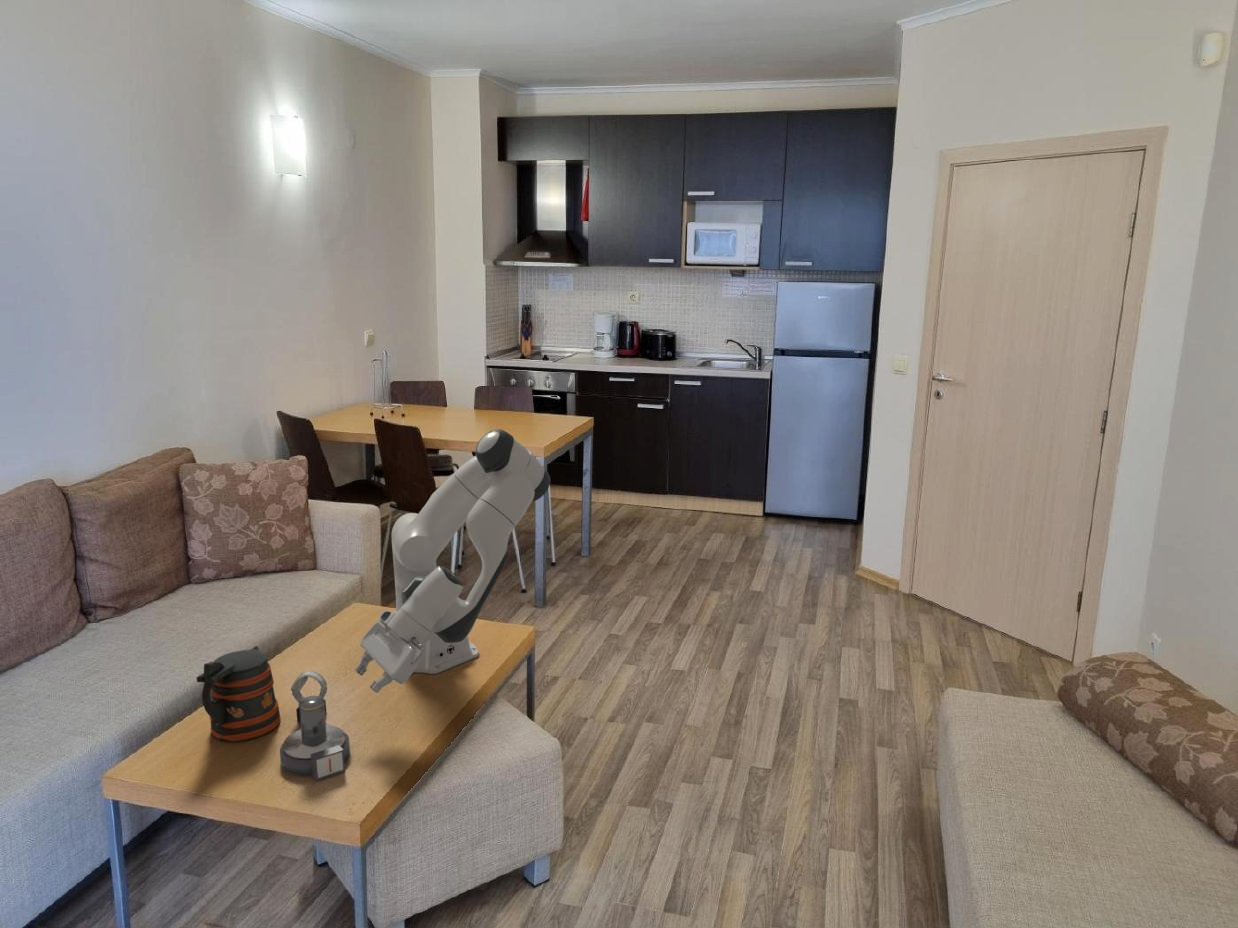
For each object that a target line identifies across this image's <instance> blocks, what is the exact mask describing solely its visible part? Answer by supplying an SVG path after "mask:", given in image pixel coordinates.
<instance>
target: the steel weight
mask: <svg viewBox="0 0 1238 928" xmlns="http://www.w3.org/2000/svg"><path fill="white" fill-rule="evenodd" d="M324 699H325V697H324V698H323V697H321V696H319V695H309V696H306V697H304V698H303V699H302V700H300V702H299V703H298V707H299V711H300V722H299V723H300V729H301V735H302V743H303V744H304V745H306V746H316V745H320V744H322V743H324V742H325V741H326V739H327V734H326V725H327V723H326V722H327V721H326V712H325V708H324Z"/></svg>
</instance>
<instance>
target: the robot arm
mask: <svg viewBox="0 0 1238 928" xmlns="http://www.w3.org/2000/svg"><path fill="white" fill-rule="evenodd" d="M550 485H551V476H550V475H549V472H548V470H547V469H546V467H544V466H543V465H542V464H541V463H540V461H539V460H538V459H537V457H536V456H534V454H533V453H532V452H531V451H530V450H529V449H527V448H526V447H525V446H523V445H522V444H521V442H519V441H518V440H516V439H515V438H514V436H513V435H512V434H510V433H509V432H507V431H506V430H504V429H500V428H495V429H493V430H490V431H488V432H487V433H485V434H484V435H483V436H482V437H481V438H480V439H479V440H478V442H477V444H476V447H475V455H474V456H473V457H472V458H470V459H469V460H467V461H466V462H465V463H463V464H462V465H461V466H460V467H459V468H458V469H456V470H455V472H453V473H452V475H450V476H449V477H448V478H447V479H446V480H445V481H444V482H443V483H442V484H440V486H439V487H437V489H436V490H435V491H434V492H433V493H432V494H431V495H430V497H429V499H428V500H427V502H426V503H425V505H424V506H423V507H422V508H421V510H420V511H419V512H418V513H416V512H409V513H404V514H403V515H401V516H399V518H398V519H396V521H395V523H394V525H393V527H392V529H391V548H392V562H393V573H394V575H393V576H394V585H395V587H394V589H395V602H396V603H395V605H396V606H395V607H396V611H394V610H383V611H382V612H381V613H380V615H379V616H378V618H379V619H378V620H376V621H375V622H374V623H373V624H372V625H371V626H370V628H369V629H368V630H367V631H366V633H365V634H364V635H363V636H362V638H361V640H360V643H359V644H360V645H359V646H360V647H361V648H362V649H363V650H364V652H363V653H362V655H361V657H360V660H359V663H358V664H357V666H355V668H354V671H355V672H356V674H358V675H359V676H363V675H364V674H365V673H366V672H367V671H368V669H367V668H368V665H369V663H370V662H372V661H373V660H374V662H375V663H376V664H377V665H378V666H379V667H380V668H381V669H382V671H384V672H383V673H382V675H381V677H380V678H379V679H378V680H374V681H373V682H372V683H371V685H370V686H369V687H370V689H371V690H372V691H373V692H374V693H376V694H378V693H380V691H381V690H382V689H383V688H384V687H385V686H388V685H390V684H391V683H392V682H393V681H395V682H396V683H398V684H399V685H402V684H404V683H406V682H407V681H408V680H409V678H410V677H411V676H412V674H413V673H423V674H431V675H434V674H438V673H441V672H443V671H446V670H448V669H451V668H453V667H455V666H457V665H461V664H463V663H465V662H468V661H470V660H472V659H473V660H474V659H475V658H477V657H479V649H478V647H477V646H476V645H475V644H474V643H473V642H471V641H470V640H469V635H470V633H471V632H472V631H473V628H474V627H475V623H476V620H477V618H478V617H479V614H480V613H481V610H482V608H483V607H484V605H485V603H486V601H487V599H488V598H489V596H490V594H491V592H492V591H493V589H494V587H495V585H496V583H497V581H498V580H499V578H500V576H501V574H502V573H503V570H504V568H505V566H506V565H507V562H508V560H509V556H510V551H509V548H508V543H509V539H510V536H511V534H512V532H513V530H514V529H515V527H516V526H517V525H518V524H519V522H520V521H521V520H522V518H523V516H524V515H525V514H526V512H527V510H528V509H529V508H530V506H531V503H532V502H535V501H536V502H537V501H538V500H540V499H541V498H542V497H543V496H544V495H546V493H547V492H548V491H549V488H550ZM464 524H466V530H467V534H468V537H469V539H470V540H471V542H472V544H473V546H474V547H475V549H476V551H477V553H478V555H479V557H480V560H481V565H482V566H481V572H480V575H479V576H478V578H477V580H476V582H475V583H474V585H473V587H472V589H471V590H470V592H469V594H468V596H467V598H466V599H465V600H464V599H461V598H460V597H459V596H460V594H461V592H462V591H463V590H464V589H463V588H464V584H463V581H462V579H460V577H458V575H457V574H455V573H454V572H453V571H451V570H450V569H449V568H447V567H445V566H442V565H438V564H437V559H438V557H440V554H441V553H442V552H443V551H444V549H445V548H446V547H447V545H449V543H450V542H451V540H452V539H453V538H454V536H455V535H456V534H457V533H458V530H460V528H461V527H462V526H463V525H464ZM437 565H438V566H437Z"/></svg>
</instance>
